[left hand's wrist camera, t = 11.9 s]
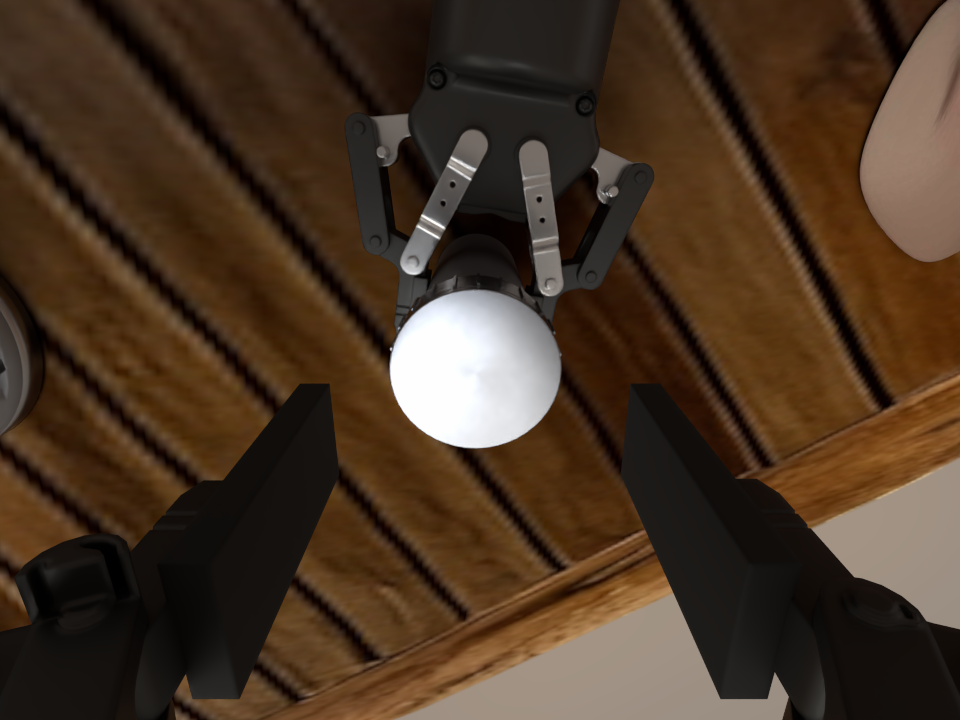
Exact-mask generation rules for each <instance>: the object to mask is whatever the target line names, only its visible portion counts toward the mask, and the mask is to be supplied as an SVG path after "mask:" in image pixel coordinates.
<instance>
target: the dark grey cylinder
mask: <svg viewBox="0 0 960 720" xmlns="http://www.w3.org/2000/svg"><path fill="white" fill-rule="evenodd" d="M477 273H480V275H482V276H490V277H495V278H499V277H502V278H503V280H505V281H507V282H509V283H511V284H513V285H516V286H517V287H520V286H521V287H522V288H523V285H522V282H521V279H520V276H519V273H518V270H517V268H516V265H515V262H514V259H513V257H512V255H511V253H510V251H509V250H508V249H507V247H506V246H505V245H504V244H503V243H501V242H500V241H499V240H497V239H495V238H493V237H491V236H488V235H484V234H468V235H464V236H462V237H459V238H457V239H455V240H454V241H453V242H451V243H450V244H449V245H448V246H447V247H446V248H445V249H444V251H443V252H442V254H441V256H440V258H439V261H438V264H437V266H436V269H435V272H434V274H433V277H432V280H431V282H430V285H429V288H428V290H429V289H431V288H432V286H433V284H435V283H436V285H438V284H440V283H442V282H444V281H447V280H449V279H452V278H454V276H456V275H457V277H461V276H469V275H477ZM428 290H427V291H428ZM523 290H524V288H523ZM524 291H525V290H524Z"/></svg>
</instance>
